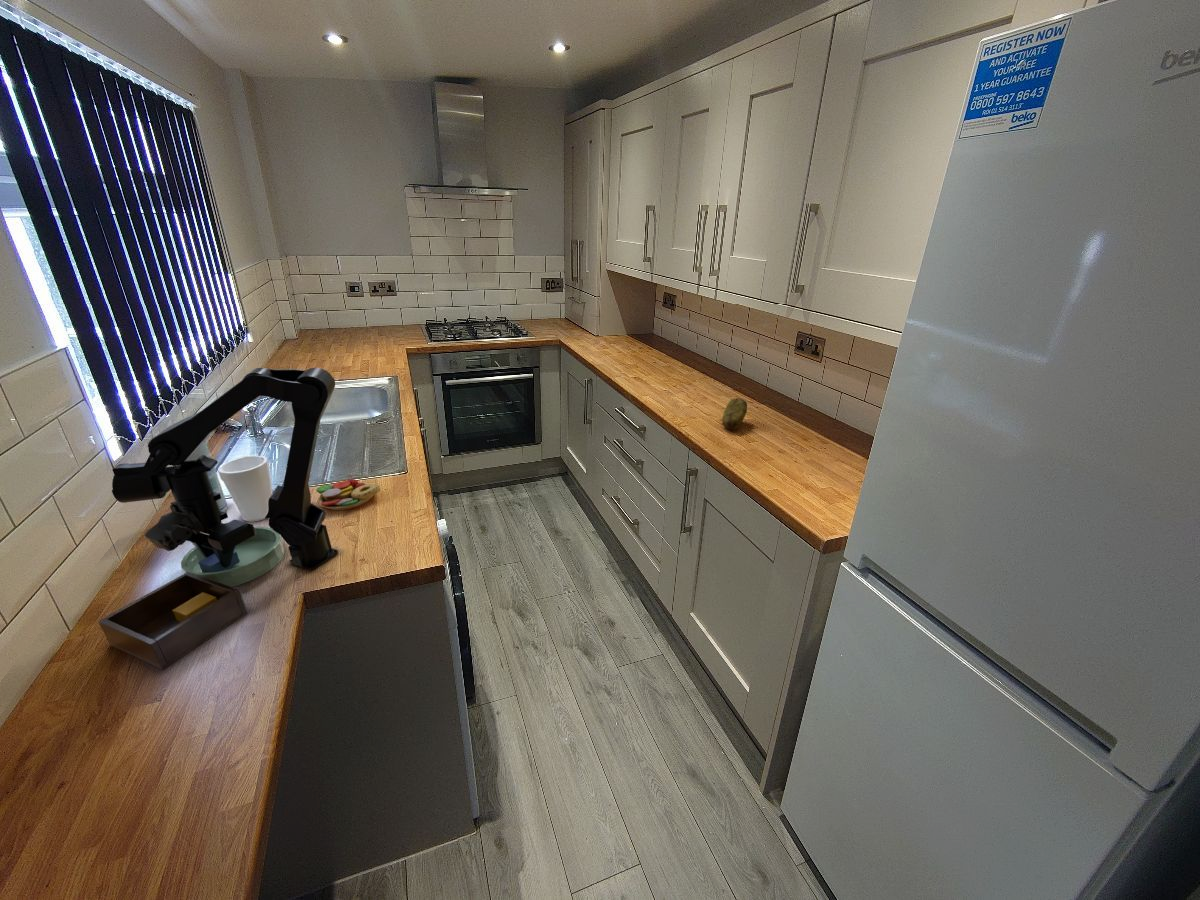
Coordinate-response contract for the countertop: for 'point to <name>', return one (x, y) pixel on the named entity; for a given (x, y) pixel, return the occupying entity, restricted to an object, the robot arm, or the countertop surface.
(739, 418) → the olive green oval lump
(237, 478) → the foam cup
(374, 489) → the toy food set
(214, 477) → the spray can
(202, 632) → the holder
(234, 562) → the blue gray block
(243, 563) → the bowl
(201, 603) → the yellow block
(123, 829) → the countertop surface
